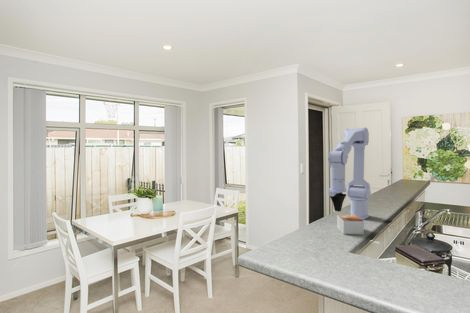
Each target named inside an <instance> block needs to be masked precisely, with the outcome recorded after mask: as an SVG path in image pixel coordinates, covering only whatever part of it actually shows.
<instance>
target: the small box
mask: <svg viewBox="0 0 470 313" xmlns="http://www.w3.org/2000/svg"><path fill="white" fill-rule="evenodd" d="M336 222H337V223H336V226H337V228H338V230H339V231H340V232H341V233H342V234H343V235H362V236H364V230H365V227H364V224H365V222H364V220H363V219H360V218H359V217H358V216H356V215H351V214H337V215H336Z"/></svg>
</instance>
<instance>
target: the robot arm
mask: <svg viewBox="0 0 470 313" xmlns="http://www.w3.org/2000/svg"><path fill="white" fill-rule="evenodd" d="M369 136H370V133H369V129H368V128H367V127H356V128H354V127H353V128H346V129H344V134H343V137H344V138H343V139H344V140H342V141H340V142H339V143H338V144H337V146H336V147H335V149H334V150H331V151H330V152H329V153H328V156H327V160H328V165H329V169H330V188H327V190H328V197H329V198H330V200H331V201H332V205H333V209H334V211H335V212H341V211H342V208H343V203H344V202H345V199H346V197H348V198H349V199H350V215H356V216H358V217H359V218H360V219H361V220H363V221H364V220H366V219H369V217H371V214H369V202H368V200H369V199H370V197H371V193H372V192H371V184H370V183H369V182H368V181H366V180H365V179H364V178H365V177H364V176H365V150H366V149H365V148H366V146H368V145H369V139H370V137H369ZM352 147H353V166H352V167H353V169H352V170H353V171H352V174H353V177H352V179H351V180H350V181H349V182H348V183H347V187H346V164H347V163H348V158H349V154H350V152H351V151H352Z"/></svg>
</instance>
